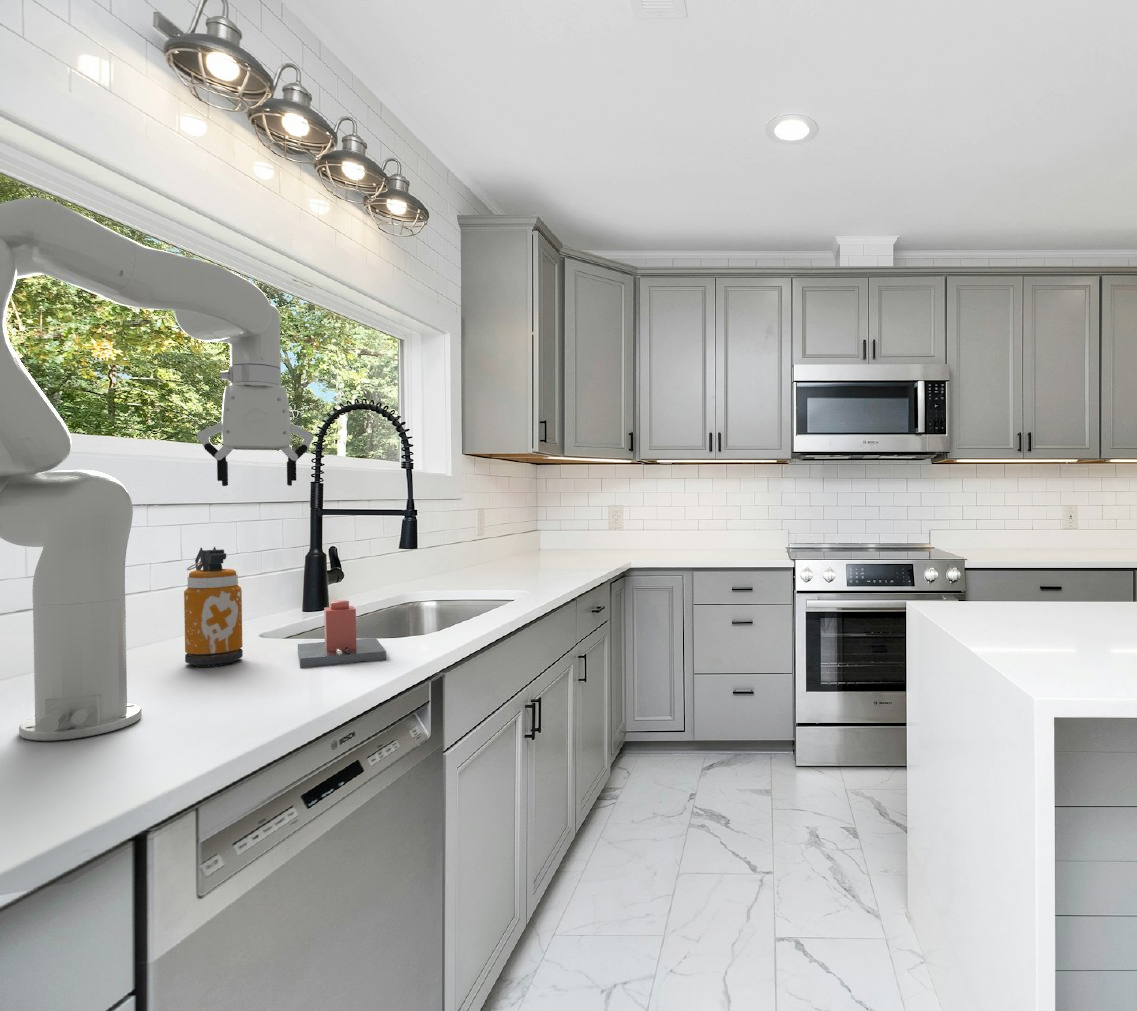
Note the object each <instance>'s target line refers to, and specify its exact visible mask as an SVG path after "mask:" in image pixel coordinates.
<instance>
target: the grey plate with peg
mask: <svg viewBox="0 0 1137 1011" xmlns="http://www.w3.org/2000/svg"><path fill="white" fill-rule="evenodd" d="M297 656H298V661H299V668H301V669H303V668H312V667H313V668H314V667H320V666H321V667H322V666H333V665H343V664H344V663H345V664H353V662H356V663H360V662H359V661H367V662H377V661H385V660H387V651H386V649H385V648H384V646H383V645H382V644H381V642H380V641H379V640H378V639H377V638H376V637H369V638H356V649H349V647H345V648H344V650H341V649H340V648H336V651H326V648H325V641H320V642H308V643H298V644H297ZM345 664H344V665H345Z"/></svg>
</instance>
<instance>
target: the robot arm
mask: <svg viewBox="0 0 1137 1011" xmlns="http://www.w3.org/2000/svg"><path fill="white" fill-rule="evenodd" d="M36 276H47V277H50V278H53V279H56V280H59V281H61V282H63V283H66V284H67V285H72V286H74V287H75V288H79V289H81V290H83V291H86V292H88V293H91V294H93V295H96V296H98V297H100V298H103V299H105V300H108V301H109V302H110V301H111V302H113V303H115V304H118V305H120V306H124V307H129V308H136V309H141V310H142V309H144V310H154V311H155V310H158V311H159V310H160V311H162V310H163V311H164V310H165V311H167V310H168V311H174V317H175V321H176V323H177V325H178V326H179V328H180V329H181V330H182V331H183V332H184V334H186V335H188V336H189V337H191V338H193V339H194V340H198V341H202V342H208V343H209V342H211V343H224V344H227V345H229V353H230V354H229V355H230V356H229V357H230V358H229V360H230V361H229V362H230V363H229V364H230V366H229V368H228V369H227V370H220V373H219V375H220V376H219V377H220V380H222V381H223V380H224V381H228V382H229V383H230V385H226V386H225V388H224V392H223V398H222V408H221V409H222V410H221V411H222V412H221V422H218V423H216V424H214V425H212V426H209V427H207V428H205V429H203V430H200V431H198V432H197V433H196V436H197V438H198V440H199V441H200V444H201V445H202V447H203V448H204V450H205V451H206V452H207V453H208V454H209V455H211V456H212V457H213V458H214V459H215V460H216V464H217V465H216V466H217V467H216V470H217V471H216V473H217V474H216V476H217V478H216V479H217V481H218V482H221V485H222V487H227V486H229V466H228V462H229V461H227V456H228V455H229V454H231V452H232V451H233V450H243V451H282V452H283V454H284V455H285V456H286V457H287V461H286V486H288V487H292V486H293V481H294V482H296V481H297V461H299V459H300V458H301V457H302V456H303V455H304V454H305V453H306V452H307V451H308V449H309V447H310V445H311V443H312V441H313V439H314V438H315V437H314V434H312V433H310V432H309V431H308V430H307V431H306V430H304V429H303V428H300V427H298V426H297V425H295V424H292V423H291V414H290V405H289V397H288V393H287V390H286V388H285V387H282V377H281V376H282V371H281V370H282V366H281V318H280V312H279V309H278V308H277V307H276V305H273V304H272V303H270V301H269V299H268V297H267V296H266V294H265V293H264V292H263V291H262V290H261V289H260V288H259V287H258V286H257V285H255V284H254V283H253V282H251V281H250V280H248V279H246V278H244V277H243V276H241V275H239V274H237V273H234V272H233V271H231V270H230V269H227V268H225V267H222V266H221V265H217V264H214V263H210V262H208V261H206V260H201V259H197V258H192V257H188V256H185V255H181V254H178V253H174V252H169V251H166V250H161V249H158V248H153V247H149V246H145V245H143V244H141V243H139V242H137V241H135V240H133V239H132V238H129V237H127V236H125V235H123V234H120V233H119V232H117V231H115V230H113V229H111V228H109V227H107V226H105V225H103V224H101V223H100V222H97V221H96V220H93V219H92V218H89V217H87V216H85V215H84V214H81V213H80V212H77V211H76V210H74V209H72V208H69V207H68V206H65V205H63V204H61V203H59V202H56V201H54V200H51V199H49V198H45V197H39V196H38V197H35V196H34V197H33V196H31V197H30V196H29V197H22V198H17V199H14V200H9V201H5V202H1V203H0V539H2V540H4V541H5V542H8V543H10V544H13V545H16V546H21V547H28V548H29V547H30V548H31V547H32V548H42V550H41V552H40V556H39V558H38V561H37V564H36V567H35V569H34V575H33V579H32V591H31V592H32V620H33V621H32V624H33V626H32V628H33V630H32V631H33V670H34V673H33V677H34V679H33V680H34V684H33V685H34V686H33V687H34V716H31V717H29V718H27V719H25V720H24V721H23V722H22V723H20V724H19V727H18V730H19V731H18V734H19V736H20V737H21V738H23V739H26V740H29V741H30V740H31V741H44V742H45V741H48V742H49V741H63V740H64V741H65V740H73V739H80V738H87V737H91V736H92V737H93V736H97V735H101V734H102V735H103V734H106V733H109V732H110V733H111V732H113V731H117V730H120V729H123V728H126V727H129V726H131V725H133V724H134V723H136V722H138V721H139V720H140V719H141V718H142V716H143V715H142V707H141V706H139V705H137V704H134V703H129V702H128V678H127V676H128V675H127V674H128V671H127V670H128V669H127V666H128V665H127V620H126V618H127V617H126V559H127V558H126V557H127V549H128V543H129V539H130V533H131V529H132V523H133V516H134V511H133V510H134V509H133V508H134V507H133V502H132V498H131V496H130V493H129V491H128V490H127V488H126V487H125V486H124V485H123V484H122V483H121V482H120V481H119V480H118V479H116V478H115V477H112V476H111V475H109V474H106V473H103V472H100V471H96V470H89V469H87V470H85V469H75V470H74V469H72V470H71V469H70V470H53V469H55V468H57V467H58V466H60V465H62V464H63V463H64V462H65V461H66V459H68V457H69V455H70V452H71V451H72V437H71V434H70V431H69V429H68V427H67V425H66V423H65V421H64V420H63V418H62V417H61V416H60V414H59V413H58V411H57V410H56V408H55V407H54V406H53V404H52V403H51V402H50V400H49V399H48V397H47V396H46V395H45V393H44V391H43V390H41V388H40V387H39V385H38V384H37V383H36V381H35V379H34V378H33V377H32V376H31V374H30V373H29V371H28V370H27V368H26V367H25V366H24V363H22V361H21V359H20V358H19V356H18V354H17V353H16V351H15V350H14V348H13V346H12V344H11V341H10V338H9V336H8V332H7V312H8V307H9V306H8V305H9V303H10V298H11V296H12V294H13V291H14V289H15V286H16V282H17V280H20V279H24V278H25V279H26V278H30V277H36ZM219 433H221V442H222V444H223V445H222V446H221V448H220V449H217V448H216V447H215V446H214V445H213V444H212V442H211V441H210V438H211V437H212V436H214V435H216V434H219ZM292 434H293V435H295V436H297V437H299V438H301V439H302V442H301V444H300V446H299V447H298V448H296V449H295V451H294V450H293V449H292V447H291V446H290V445H291V439H292ZM51 470H52V471H51Z"/></svg>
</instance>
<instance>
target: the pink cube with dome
mask: <svg viewBox="0 0 1137 1011" xmlns="http://www.w3.org/2000/svg"><path fill="white" fill-rule="evenodd" d="M329 604H330V605H329V607H327V606H326V607H323V612H324V614H323V615H324V616H323V619H324V621H323V622H324V642H325V648H326V651H336V648H340V649H341V650H344V648H345V647H349V649H356V639H357V609H356V607H354V605H350V601H349V600H333V601H332V600H331V601H329Z"/></svg>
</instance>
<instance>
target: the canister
mask: <svg viewBox="0 0 1137 1011" xmlns="http://www.w3.org/2000/svg"><path fill="white" fill-rule="evenodd" d="M226 559H227V553H225V549H221V548H220V549H217V548H216V546H214V547H213V549H205V550H204V549H203V547H200V549H199V551H198V553H197V555H196V557H195V559H194V564H192V565H190V566H189V567H186V571H190V572H189V573H188V576H187V588H186V589H185V590H184V592H183V602H184V603H183V604H184V605H183V608H184V609H183V610H184V611H183V613H184V652H185V654H184V660H185V663H186V664H189V665H193V666H194V667H201V668H204V667H205V668H206V667H207V668H208V667H211V668H212V667H220V666H224V665H229V664H232V663H234V662H235V661H236V660H239V659H242V658H243V651H244V650H243V649H242V648H243V599H242V598H243V596H242V595H243V592H242V587H241V586H240V585H239V578H238V577H239V576H238V573H237V570H235V569H232V568H223V564H224V560H226ZM193 569H195V570H193ZM191 570H193V571H191Z"/></svg>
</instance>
